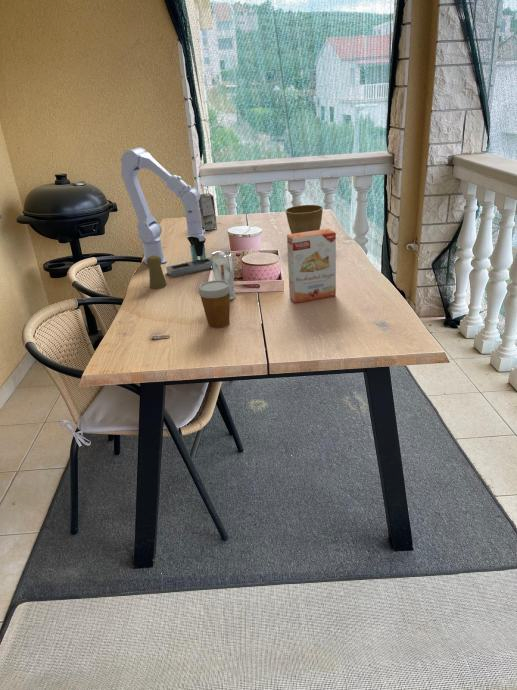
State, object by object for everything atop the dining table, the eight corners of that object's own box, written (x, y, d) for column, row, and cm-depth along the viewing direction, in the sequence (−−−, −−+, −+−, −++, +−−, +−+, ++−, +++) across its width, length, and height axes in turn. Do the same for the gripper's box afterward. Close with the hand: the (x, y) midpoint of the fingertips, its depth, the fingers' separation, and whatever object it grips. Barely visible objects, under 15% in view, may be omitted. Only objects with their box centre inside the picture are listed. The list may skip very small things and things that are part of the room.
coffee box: (217, 229, 254) (213, 195, 247) (205, 231, 253) (200, 197, 245) (213, 225, 262) (209, 192, 255) (201, 227, 261) (196, 194, 253)
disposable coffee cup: (218, 314, 159) (213, 277, 154) (241, 321, 154) (237, 282, 148) (196, 326, 153) (190, 288, 148) (219, 333, 147) (214, 293, 142)
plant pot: (323, 241, 221) (322, 203, 214) (323, 251, 208) (322, 211, 201) (288, 243, 223) (286, 205, 216) (286, 253, 210) (284, 213, 202)
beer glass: (240, 294, 174) (235, 250, 167) (232, 302, 168) (227, 257, 161) (221, 293, 176) (215, 250, 169) (212, 300, 170) (207, 256, 163)
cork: (163, 288, 184) (158, 259, 179) (147, 289, 185) (141, 259, 180) (169, 282, 189) (164, 253, 184) (153, 283, 191) (148, 254, 186)
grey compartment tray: (167, 273, 200) (166, 266, 199) (210, 263, 206) (210, 257, 205) (172, 277, 195) (170, 270, 194) (216, 267, 201) (215, 261, 200)
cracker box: (295, 304, 162) (292, 238, 153) (289, 297, 167) (285, 233, 158) (337, 296, 165) (336, 231, 155) (329, 290, 170) (328, 227, 161)
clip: (192, 262, 209) (189, 245, 206) (204, 259, 211) (202, 243, 208) (194, 264, 207) (192, 246, 204) (206, 261, 209) (204, 244, 206)
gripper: (210, 222, 197) (214, 257, 203) (197, 216, 209) (201, 248, 215) (192, 226, 195) (197, 260, 201) (180, 219, 206) (185, 252, 213)
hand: (198, 254), depth 208 cm, fingers closed on clip, 2 cm apart
